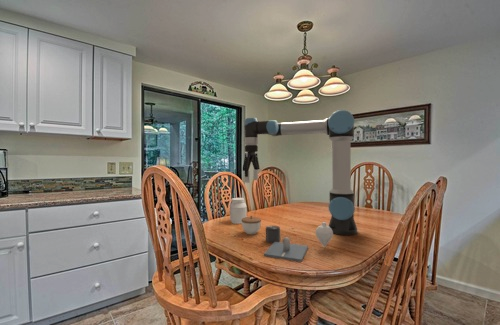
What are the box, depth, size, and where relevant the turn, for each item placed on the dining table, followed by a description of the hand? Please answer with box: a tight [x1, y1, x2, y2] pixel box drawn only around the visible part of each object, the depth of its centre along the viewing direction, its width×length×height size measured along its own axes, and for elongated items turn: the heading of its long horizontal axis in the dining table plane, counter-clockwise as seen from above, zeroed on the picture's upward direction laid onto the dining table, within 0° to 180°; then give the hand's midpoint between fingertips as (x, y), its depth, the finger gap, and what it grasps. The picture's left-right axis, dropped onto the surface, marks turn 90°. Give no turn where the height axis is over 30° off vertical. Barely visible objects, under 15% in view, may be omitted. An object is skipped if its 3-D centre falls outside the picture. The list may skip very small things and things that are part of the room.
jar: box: [229, 197, 248, 225], centre depth 159 cm, size 12×10×15 cm
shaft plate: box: [263, 236, 309, 263], centre depth 107 cm, size 16×16×6 cm
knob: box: [265, 225, 281, 244], centre depth 122 cm, size 7×7×7 cm
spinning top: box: [315, 221, 334, 249], centre depth 111 cm, size 8×8×12 cm
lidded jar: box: [241, 215, 262, 235], centre depth 135 cm, size 11×11×9 cm
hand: (251, 181), depth 142 cm, fingers open, 13 cm apart
